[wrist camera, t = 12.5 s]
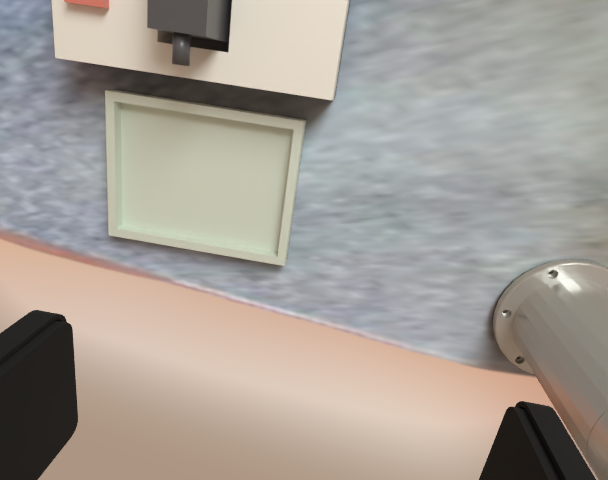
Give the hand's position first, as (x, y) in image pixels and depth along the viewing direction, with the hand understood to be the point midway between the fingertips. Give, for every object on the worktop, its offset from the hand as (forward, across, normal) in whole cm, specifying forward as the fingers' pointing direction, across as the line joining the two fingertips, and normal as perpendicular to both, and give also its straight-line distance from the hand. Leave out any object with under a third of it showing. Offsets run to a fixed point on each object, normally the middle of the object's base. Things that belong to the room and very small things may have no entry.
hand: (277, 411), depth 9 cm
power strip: (+32, +12, -11) cm, 36 cm away
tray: (+32, +12, +4) cm, 35 cm away
